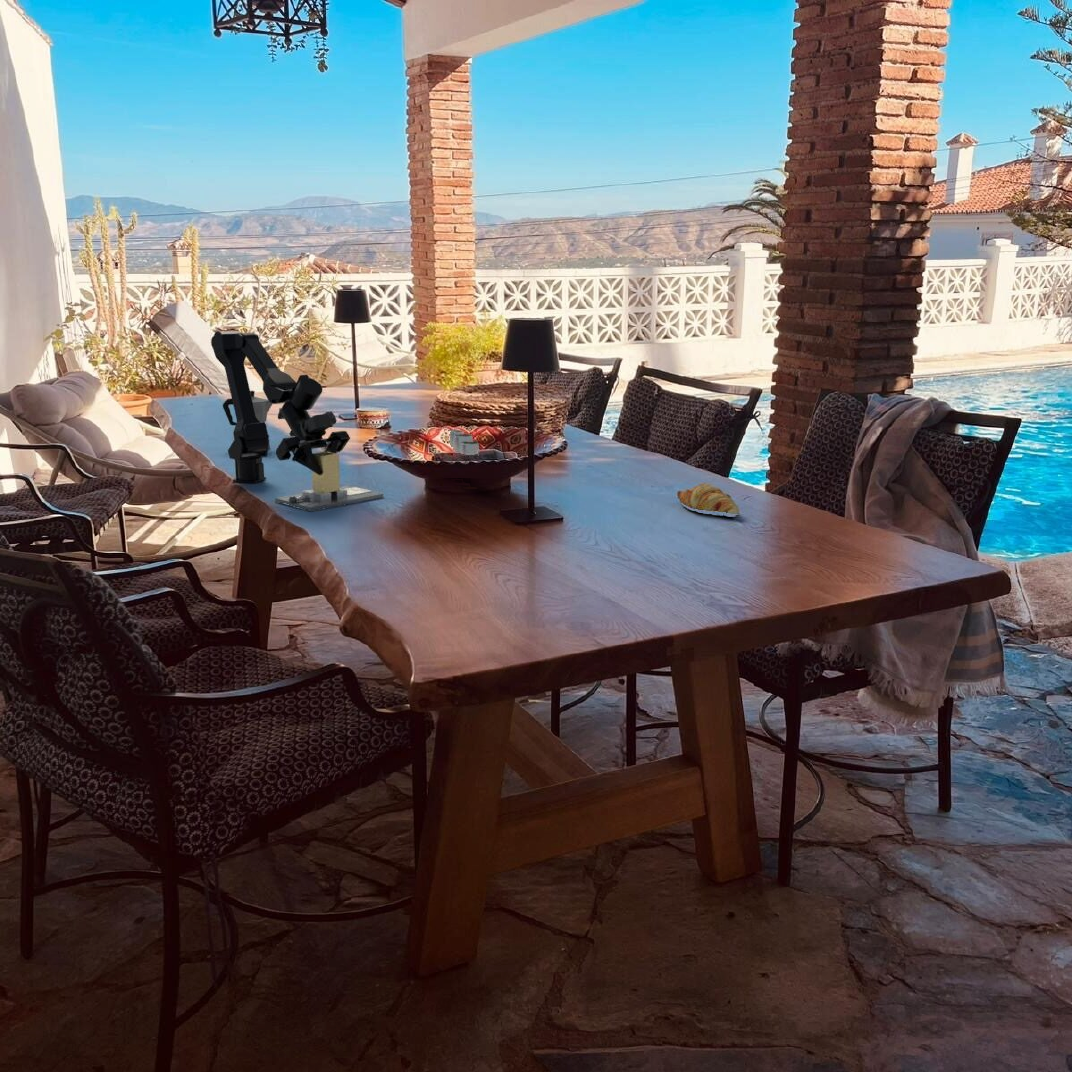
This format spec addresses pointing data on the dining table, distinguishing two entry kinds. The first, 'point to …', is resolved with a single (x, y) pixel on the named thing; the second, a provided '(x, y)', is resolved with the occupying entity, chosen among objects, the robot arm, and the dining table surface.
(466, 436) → the goblet set
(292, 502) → the grey base plate
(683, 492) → the croissant
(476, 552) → the dining table surface
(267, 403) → the coffeepot
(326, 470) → the sleeve
